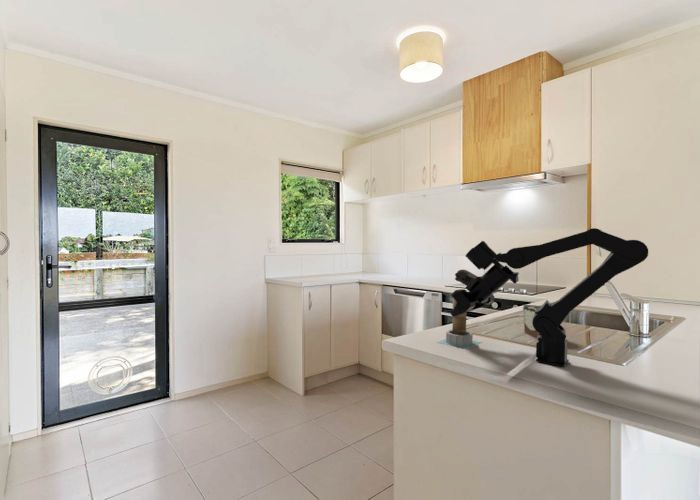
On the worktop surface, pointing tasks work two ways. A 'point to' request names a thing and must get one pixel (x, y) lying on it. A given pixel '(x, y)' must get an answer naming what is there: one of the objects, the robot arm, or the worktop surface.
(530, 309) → the food container
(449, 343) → the ring stand
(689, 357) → the worktop surface
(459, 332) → the walnut peg
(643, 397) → the worktop surface
